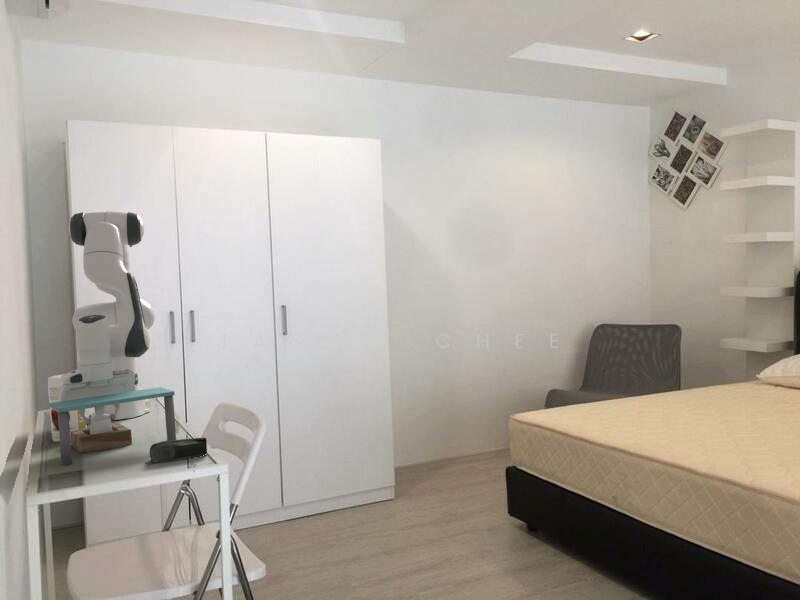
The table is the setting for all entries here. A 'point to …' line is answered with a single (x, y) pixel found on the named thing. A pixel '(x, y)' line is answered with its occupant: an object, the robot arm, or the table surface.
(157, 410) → the table surface
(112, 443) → the socket block
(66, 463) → the teal slab bridge
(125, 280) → the robot arm
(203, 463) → the table surface
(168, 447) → the mobile phone
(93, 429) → the eye dropper bottle
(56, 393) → the juice carton
